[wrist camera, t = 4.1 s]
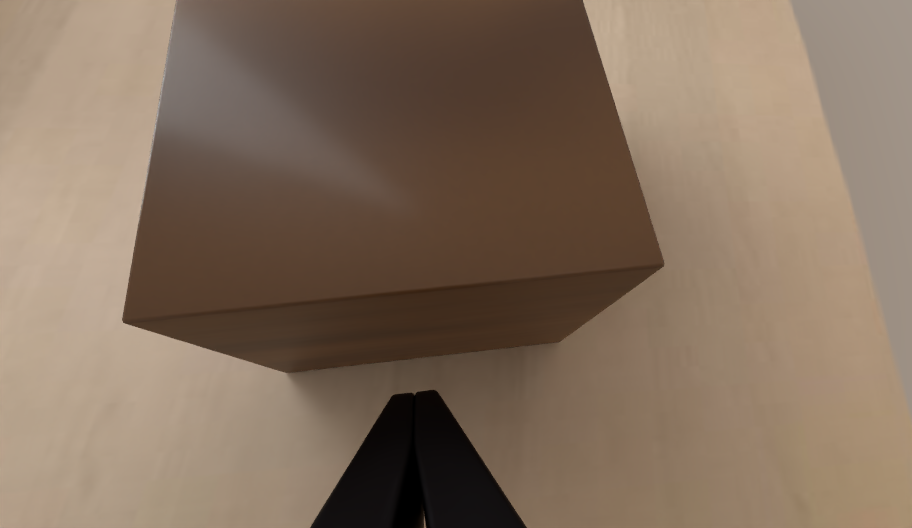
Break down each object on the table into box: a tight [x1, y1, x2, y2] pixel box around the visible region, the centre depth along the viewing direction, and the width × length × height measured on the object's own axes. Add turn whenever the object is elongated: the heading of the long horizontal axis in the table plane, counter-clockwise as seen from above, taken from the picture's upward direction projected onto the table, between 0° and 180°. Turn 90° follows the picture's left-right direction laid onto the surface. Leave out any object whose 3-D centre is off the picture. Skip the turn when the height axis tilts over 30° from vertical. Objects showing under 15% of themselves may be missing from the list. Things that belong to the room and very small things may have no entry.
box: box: [122, 0, 664, 373], centre depth 13 cm, size 11×10×8 cm
